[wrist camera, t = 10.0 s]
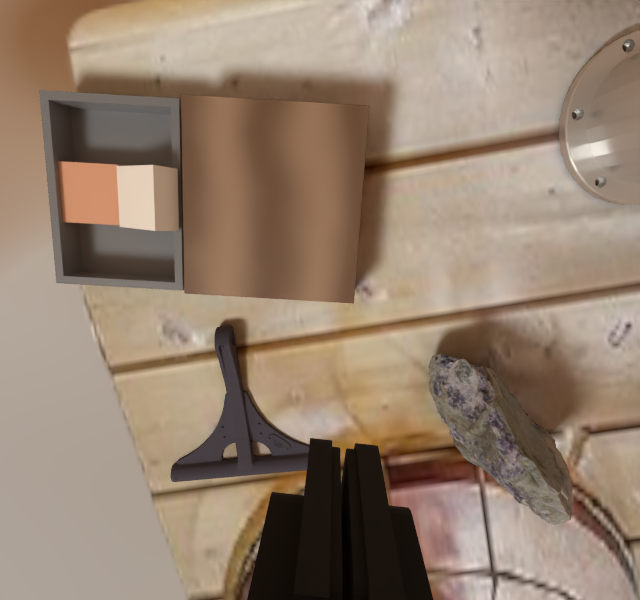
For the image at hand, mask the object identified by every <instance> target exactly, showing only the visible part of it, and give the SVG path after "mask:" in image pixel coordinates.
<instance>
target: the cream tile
mask: <svg viewBox="0 0 640 600" xmlns="http://www.w3.org/2000/svg"><path fill="white" fill-rule="evenodd" d="M117 185H118V204H119V223H120V227H125V228H134V229H143V230H151V231H179V213H178V169H176V168H170V167H163V166H157V165H134V166H117Z"/></svg>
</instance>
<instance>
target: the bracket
mask: <svg viewBox="0 0 640 600" xmlns="http://www.w3.org/2000/svg"><path fill="white" fill-rule="evenodd" d="M215 349H216V353H217V356H218V359H219V363H220V367H221V370H222V374H223V378H224V382H225V386H226V391H227V393H226V395H225V401H224V408H223V412H222V415H221V418H220V420H219V423H218V425H217V427H216V429H215V430H214V432H213V433H212V434H211V436H210V437H209V438H208V439H207V440H206V441H205V442H204V443H203V444H202V445H201V446H200V447H198V448H197V449H196V450H194V451H193V452H191V453H190V454H188V455H186V456H184V457H182V458H181V459H179V460H178V461H177V464H173V466H172V469H171V480H172V481H173V482H179V481H190V480H201V479H213V478H224V477H235V476H246V475H257V474H268V473H280V472H291V471H302V470H307V465H308V456H309V447H310V446H309V445H306V444H303V443H300V442H297V441H295V440H293V439H291V438H289V437H287V436H285V435H284V434H282V433H280V432H279V431H277V430H276V429H275V428H273V427H272V426H271V425H270V424H268V423H267V422H266V421H265V420H264V419H263V417H262V416H261V415H260V414H259V412H258V411H257V410H256V408H255V407H254V405H253V403H252V401H251V399H250V398H249V396H248V394H247V392H246V391H243V386H242V380H241V373H240V367H239V361H238V354H237V348H236V342H235V336H234V329H233V326H224V327H217V329H216V331H215ZM251 441H258V442H261V443H263V444H264V445H266V446H267V447H268V448H269V450H270V452H271V454H272V455H270V456H255V455H254V452H253V448H252V442H251ZM232 443H236V448H237V456H238V458H235V459H224V460H222V453H223V450H224V449H225V448H226V447H227V446H228V445H230V444H232Z"/></svg>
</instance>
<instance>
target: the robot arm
mask: <svg viewBox="0 0 640 600" xmlns="http://www.w3.org/2000/svg"><path fill="white" fill-rule="evenodd" d="M572 115H573V118H572ZM559 141H560V148H561V154H562V156H563V159H564V162H565V165H566V167H567V169H568V171H569V172H570V174H571V175H572V177H573V179H574V180H575V181H576V182H577V183H578V184H579V185H580V186H581V187H582V188H583V189H584V190H585V191H587V192H588V193H590V194H591V195H593V196H594V197H596V198H599V199H602V200H604V201H607V202H611V203H617V204H640V29H639V30H636V31H633V32H631V33H629V34H627V35H625V36H623V37H621V38H619V39H617V40H616V41H614V42H612V43H611V44H609V45H608V46H606V47H604V48H603V49H602V50H601V51H600V52H598V53H597V54H596V55H595V56H594V57H592V58H591V59H590V60H589V62H588V63H587V64H586V65H585V66H584V67H583V69H582V70H581V71H580V72H579V74H578V75H577V77H576V78H575V80H574V82H573V83H572V85H571V87H570V89H569V91H568V93H567V96H566V98H565V101H564V103H563V107H562V112H561V116H560V122H559ZM247 600H433V597H432V593H431V589H430V585H429V581H428V577H427V573H426V569H425V565H424V561H423V557H422V553H421V549H420V545H419V541H418V537H417V533H416V529H415V525H414V521H413V517H412V514H411V511H410V509H409V508H406V507H397V506H389V504H388V499H387V493H386V488H385V482H384V477H383V471H382V465H381V460H380V454H379V449H378V446H375V445H366V444H358V443H356V444H355V446H354V449H346V454H345V461H344V469H343V476H342V484H341V471H340V448H338V447H332V441H331V440H322V439H313V438H310V447H309V456H308V465H307V474H306V484H305V493H304V496H302V495H293V494H285V493H276V492H272V494H271V497H270V501H269V506H268V510H267V515H266V519H265V523H264V528H263V532H262V537H261V541H260V546H259V550H258V555H257V559H256V563H255V568H254V572H253V577H252V581H251V586H250V590H249V595H248V599H247Z"/></svg>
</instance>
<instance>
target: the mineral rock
mask: <svg viewBox="0 0 640 600" xmlns="http://www.w3.org/2000/svg"><path fill="white" fill-rule="evenodd" d="M429 375H430V377H431V380H430V382H429V387H430V392H431V395H432V397H433V399H434V401H435V404H436V407H437V409H438V413H439V415H440V416H441V418H442V421H443V422H445V423H446V424H447V425H448V427H449V429H450V435H451V437H452V438H453V439H454V444H455V445H456V447H457V448H458V450H459V451H460V452H461V453H462V455H463V457H464V458H466V459H467V460H468V461H469V462H471V463H472V464H475V465H477V466H479V467H481V468H483V469H484V470H485V471H486V472H488V473H489V474H490V475H491V476H492V477H493V478H494V479H495V480H496V481H497V482H498V483H499V484H500V485H501V486H502V487H504V488H505V489H506V490H507V491H508V492H509V493H510V494H511V495H512V496H514V498H515V500H517V501H518V502H519V503H521V504H524V505H526V506H529V508H530V509H531V510H532V511H533V513H535V514H537V515H538V516H540V517H541V518H542V519H544V520H545V521H547V522H548V523H550V524H553V525H556V524H560V523H563V522H566V521H569V520H571V514H572V505H573V498H574V496H573V494H572V482H571V479H570V476H569V470H568V467H567V464H566V463H565V461H564V459H563V458H562V455H561V453H560V452H559V451H558V449H557V448H556V444H555V440H554V439H553V437H552V436H551V435H550V434H549V433H548V431H547V430H544V429H543V428H542V427H540V426H539V425H537V424H535V423H533V422H532V421H531V420H530V419H529V417H528V414H527V413H525V412H524V410H523V409H522V407H521V406H520V405H519V403H518V402H517V400H516V398H515V397H514V396H513V395H512V394H511V393H510V392H509V390H508V388H507V387H506V386H505V385H504V384H503V382H502V381H501V380H500V378H499V377H498V375H497V374H496V373H495V372H494V370H493V369H492V368H491V369H490V368H487V367H485V366H483V365H482V366H478V365H476V364H470V363H469V362H468V361H467V360H466V359H464V358H460V357H453V356H447V355H446V354H444V353H440V354H437V355H435V356H433V357H432V359H431V361H430V364H429Z"/></svg>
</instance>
